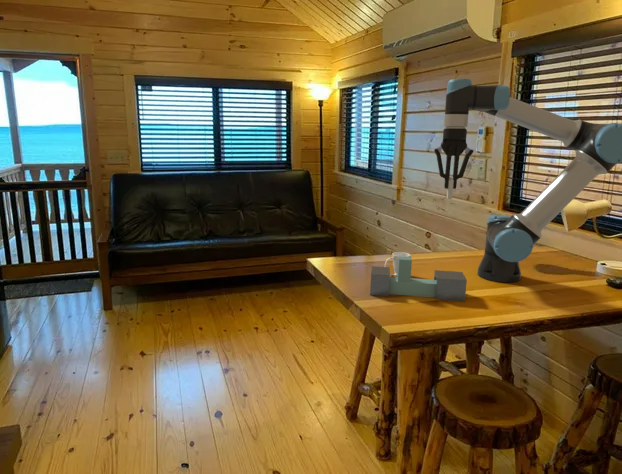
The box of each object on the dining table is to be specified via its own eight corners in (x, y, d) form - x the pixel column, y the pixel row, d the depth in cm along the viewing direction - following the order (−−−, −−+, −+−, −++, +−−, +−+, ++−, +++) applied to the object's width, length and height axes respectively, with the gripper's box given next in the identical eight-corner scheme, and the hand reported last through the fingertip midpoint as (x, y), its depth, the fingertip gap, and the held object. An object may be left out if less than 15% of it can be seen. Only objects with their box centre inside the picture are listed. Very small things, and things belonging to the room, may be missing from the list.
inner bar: (445, 293, 157) (448, 258, 155) (446, 298, 153) (450, 262, 150) (381, 289, 161) (383, 255, 158) (381, 293, 156) (383, 258, 153)
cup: (413, 277, 174) (414, 256, 172) (388, 279, 171) (390, 257, 169) (403, 271, 181) (405, 251, 179) (380, 273, 178) (381, 252, 176)
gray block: (460, 292, 159) (462, 271, 157) (464, 301, 150) (466, 280, 149) (433, 290, 160) (434, 270, 158) (435, 299, 152) (437, 278, 150)
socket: (388, 287, 162) (389, 267, 161) (388, 296, 154) (389, 275, 152) (370, 286, 163) (371, 266, 162) (370, 294, 155) (371, 274, 153)
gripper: (473, 128, 159) (467, 197, 164) (434, 127, 161) (428, 196, 166) (477, 128, 152) (470, 200, 157) (436, 127, 154) (430, 199, 159)
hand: (449, 198), depth 162 cm, fingers closed
